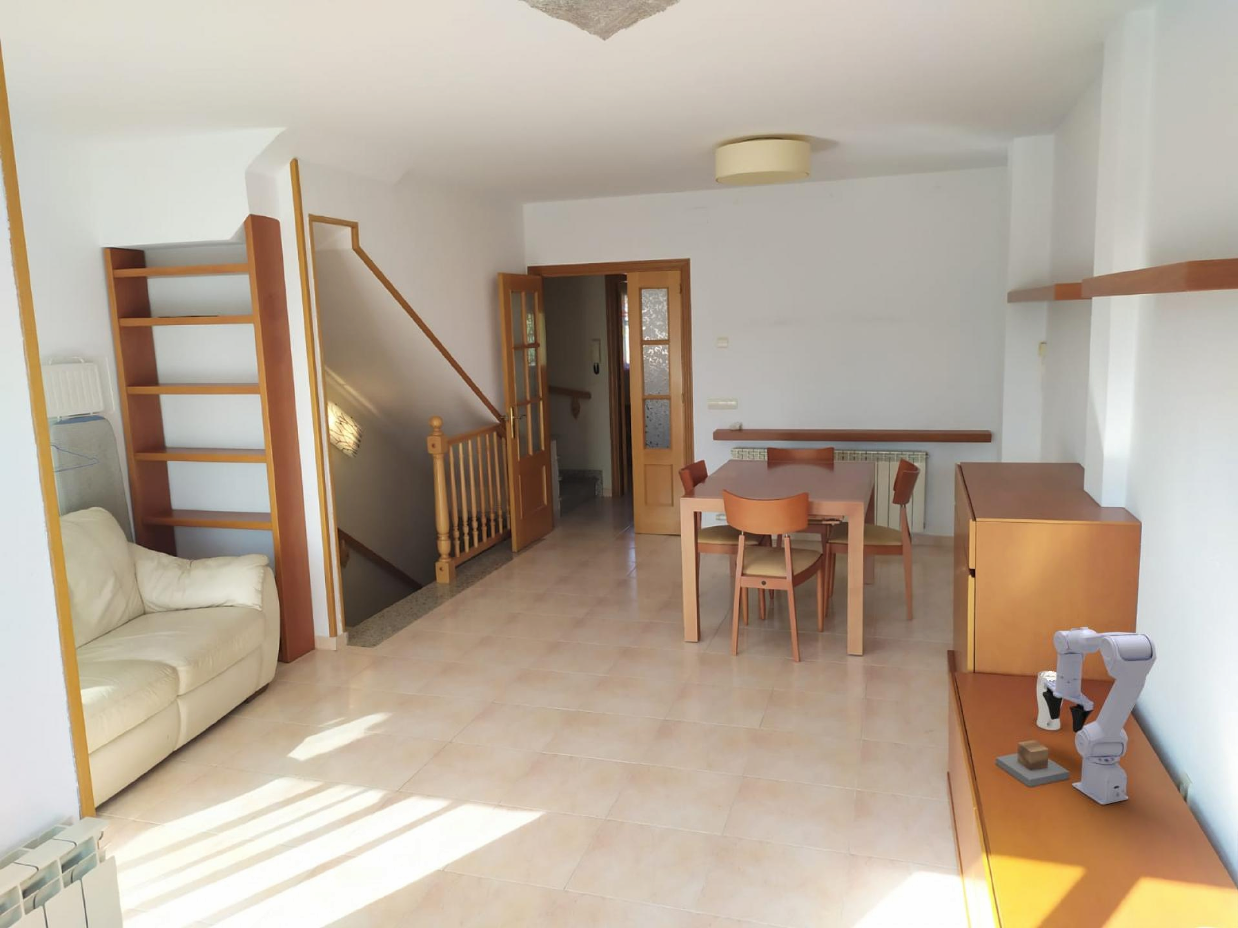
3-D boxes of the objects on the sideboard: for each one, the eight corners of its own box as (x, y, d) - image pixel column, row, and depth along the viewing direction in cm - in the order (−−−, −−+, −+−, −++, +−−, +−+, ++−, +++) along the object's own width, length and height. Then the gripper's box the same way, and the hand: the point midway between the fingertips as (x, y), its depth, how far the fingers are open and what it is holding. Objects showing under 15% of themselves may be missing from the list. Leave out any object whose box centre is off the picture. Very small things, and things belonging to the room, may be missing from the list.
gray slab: (1068, 780, 223) (1069, 771, 223) (1029, 789, 220) (1029, 779, 219) (1034, 758, 234) (1034, 749, 234) (995, 766, 231) (996, 757, 231)
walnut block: (1047, 767, 225) (1048, 749, 224) (1030, 770, 224) (1031, 751, 223) (1034, 757, 230) (1035, 739, 229) (1017, 760, 229) (1018, 742, 228)
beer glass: (1059, 733, 246) (1062, 682, 244) (1032, 726, 250) (1034, 676, 248) (1064, 723, 252) (1067, 673, 249) (1037, 717, 256) (1040, 668, 253)
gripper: (1035, 667, 234) (1032, 715, 237) (1078, 689, 221) (1075, 739, 223) (1057, 663, 236) (1054, 711, 239) (1101, 684, 223) (1097, 735, 225)
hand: (1065, 724), depth 231 cm, fingers open, 7 cm apart
